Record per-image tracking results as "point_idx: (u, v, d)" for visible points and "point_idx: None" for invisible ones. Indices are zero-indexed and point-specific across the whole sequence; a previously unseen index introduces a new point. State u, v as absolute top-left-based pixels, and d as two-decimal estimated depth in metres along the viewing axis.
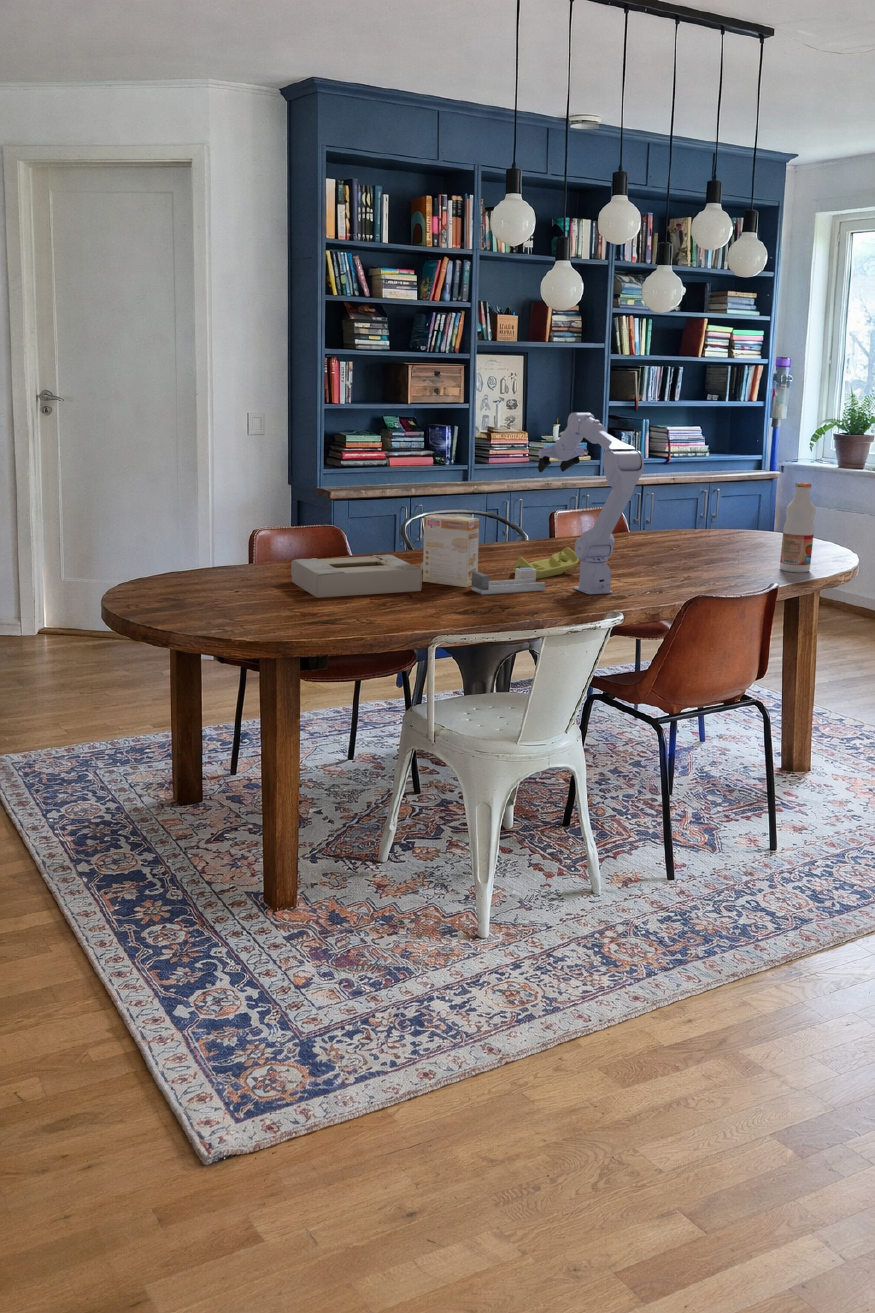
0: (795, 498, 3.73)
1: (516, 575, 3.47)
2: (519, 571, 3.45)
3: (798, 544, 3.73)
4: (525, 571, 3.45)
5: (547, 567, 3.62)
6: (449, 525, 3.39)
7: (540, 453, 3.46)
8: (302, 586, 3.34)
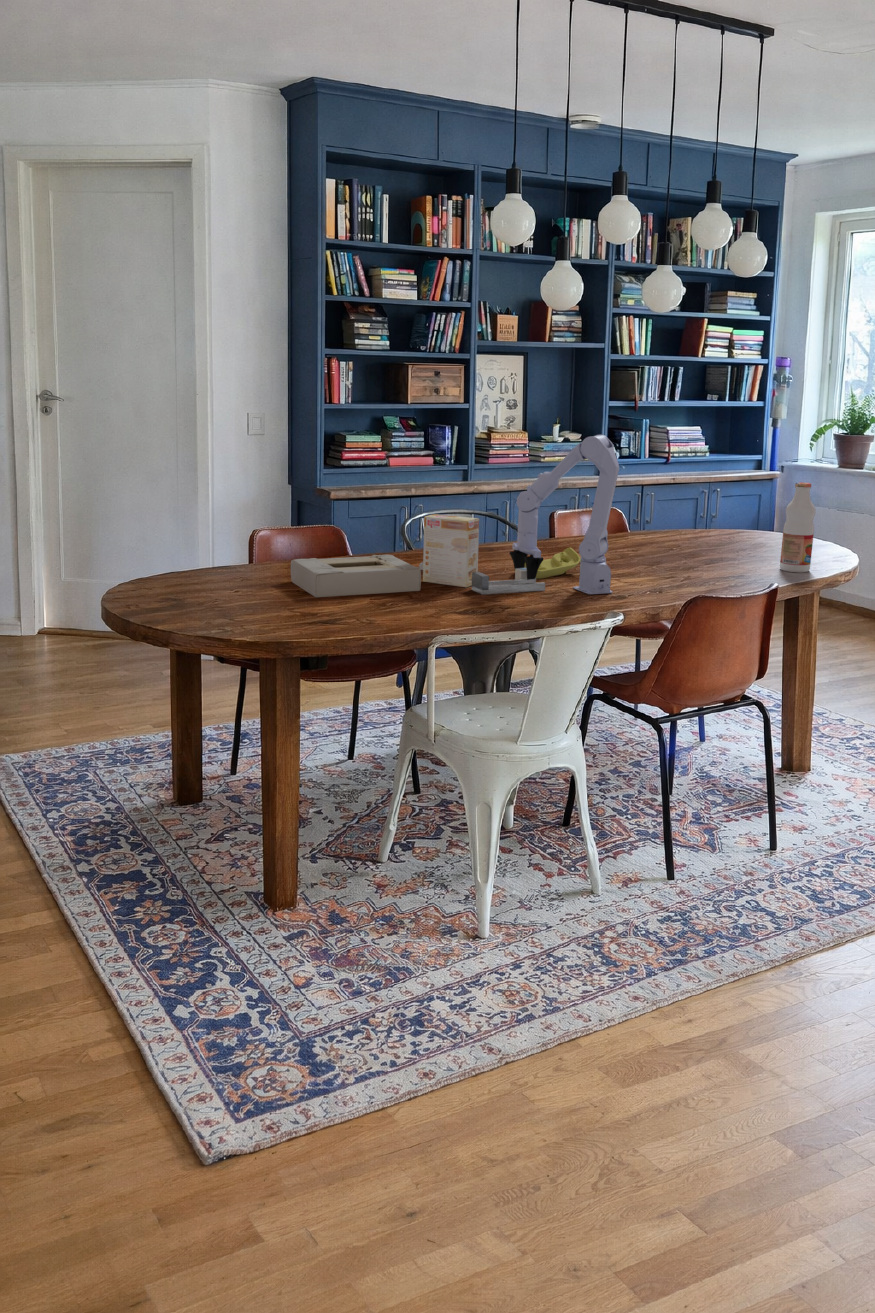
0: (795, 498, 3.73)
1: (516, 575, 3.47)
2: (519, 571, 3.45)
3: (798, 544, 3.73)
4: (525, 571, 3.45)
5: (548, 567, 3.62)
6: (449, 525, 3.39)
7: (538, 553, 3.39)
8: (301, 586, 3.34)
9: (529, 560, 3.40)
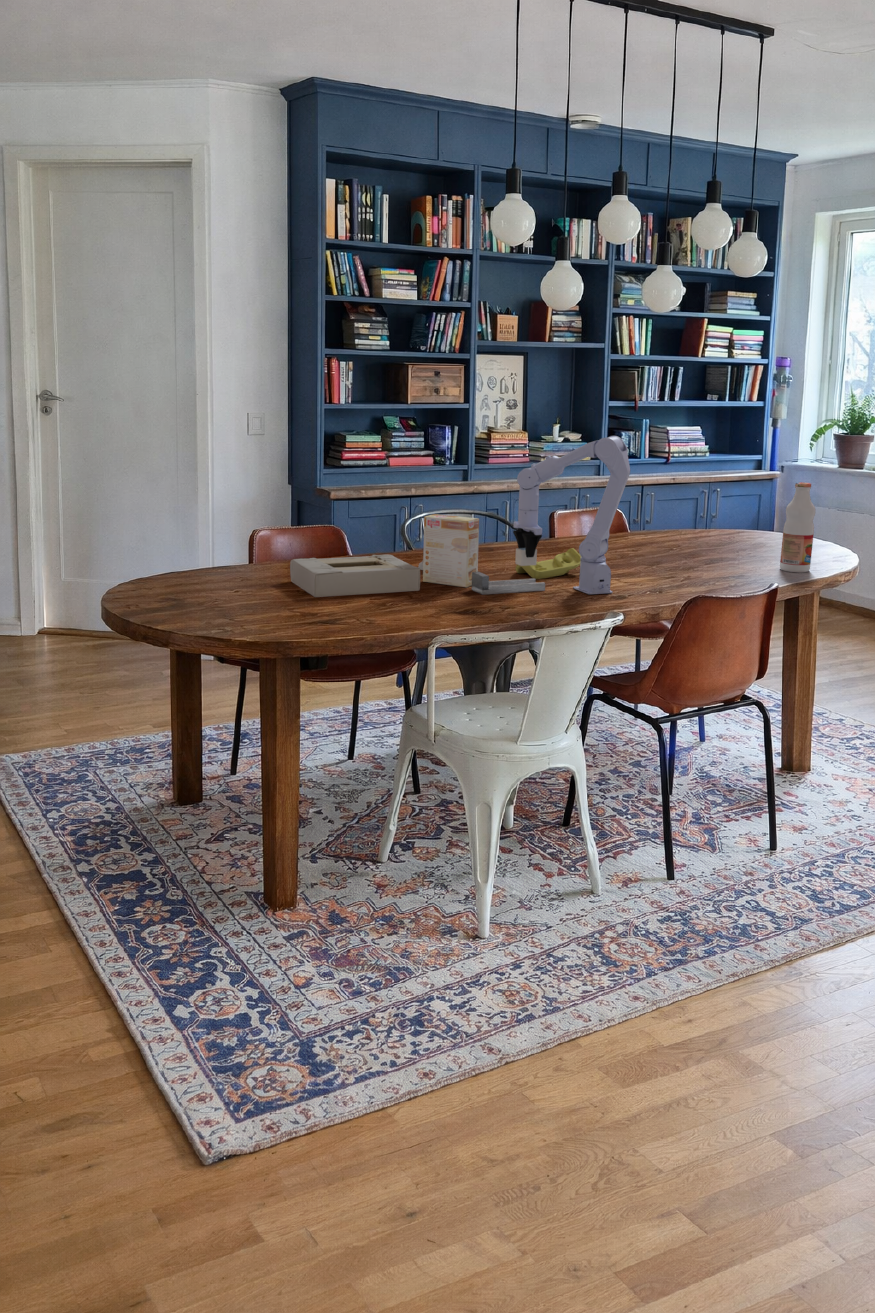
0: (795, 498, 3.73)
1: (517, 555, 3.45)
2: (520, 551, 3.43)
3: (798, 544, 3.73)
4: None
5: (549, 568, 3.61)
6: (449, 525, 3.39)
7: (539, 530, 3.37)
8: (301, 586, 3.34)
9: (528, 537, 3.39)
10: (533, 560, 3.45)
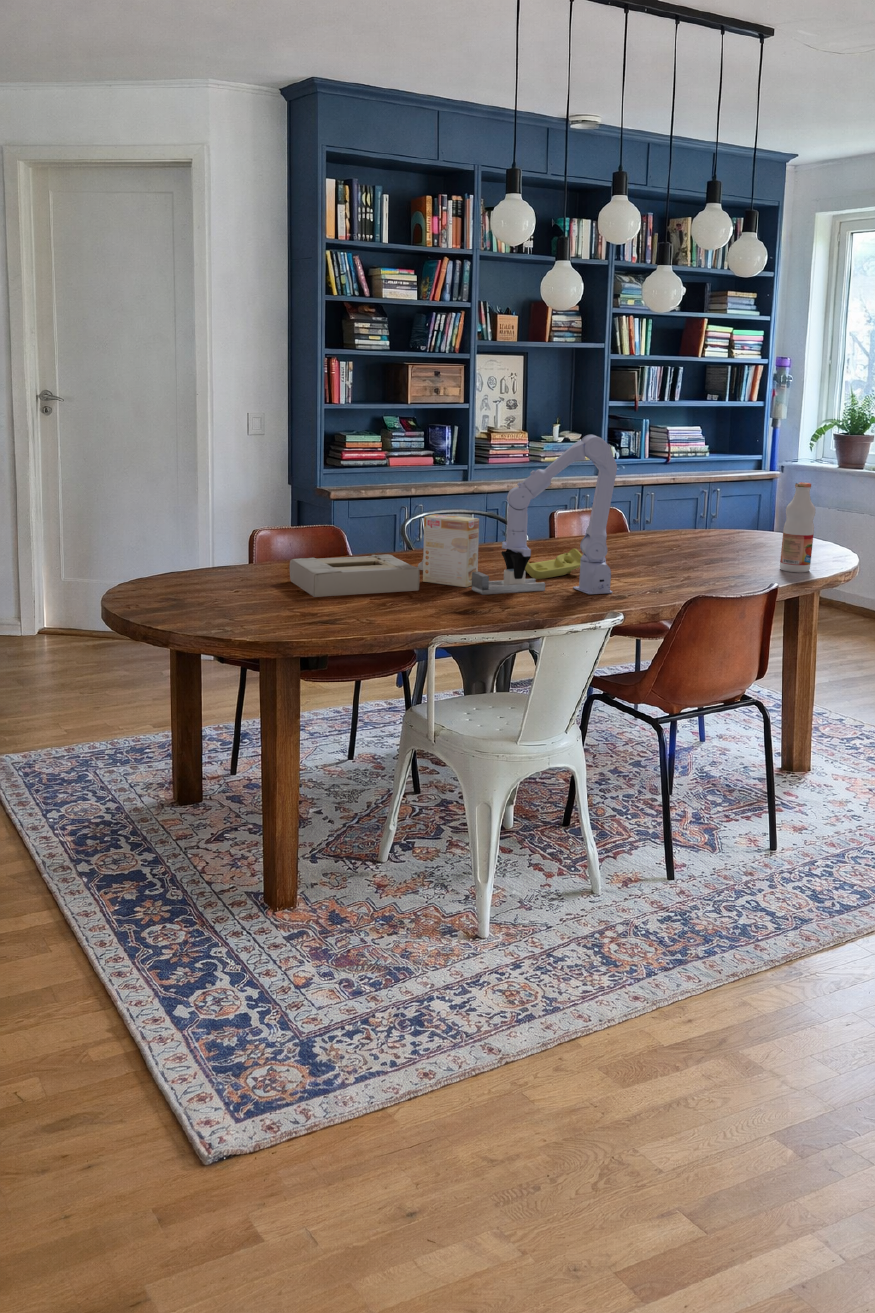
0: (795, 498, 3.73)
1: (505, 576, 3.38)
2: (508, 572, 3.36)
3: (798, 544, 3.73)
4: None
5: (550, 568, 3.61)
6: (449, 525, 3.39)
7: (528, 552, 3.29)
8: (300, 585, 3.35)
9: (516, 558, 3.32)
10: (522, 581, 3.37)
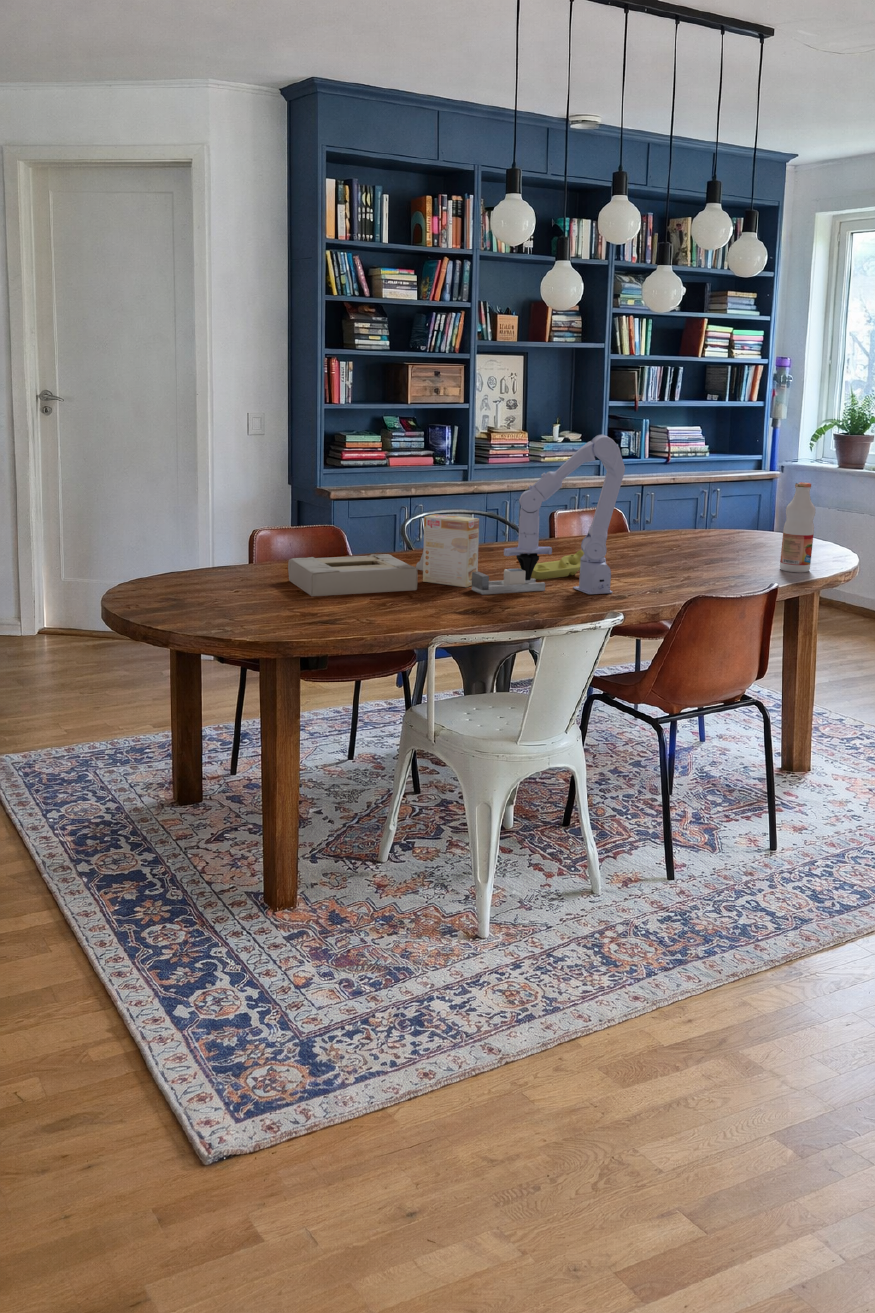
0: (795, 498, 3.73)
1: (505, 576, 3.38)
2: (508, 572, 3.36)
3: (798, 544, 3.73)
4: (514, 572, 3.35)
5: (553, 569, 3.60)
6: (449, 525, 3.39)
7: None
8: (298, 585, 3.35)
9: None
10: (522, 581, 3.37)
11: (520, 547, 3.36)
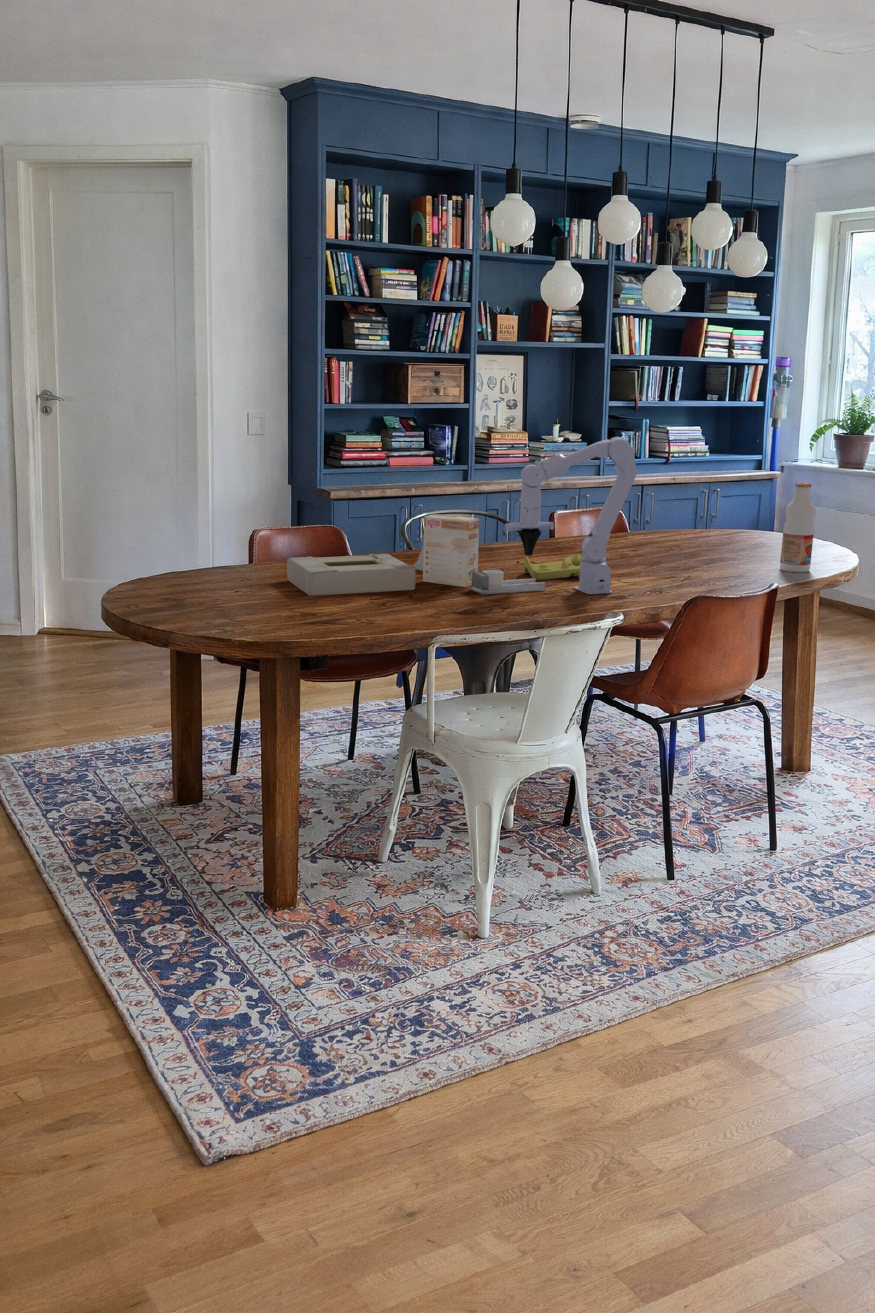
0: (795, 498, 3.73)
1: None
2: (486, 573, 3.33)
3: (798, 544, 3.73)
4: (492, 573, 3.33)
5: (555, 569, 3.59)
6: (449, 525, 3.39)
7: None
8: (296, 584, 3.36)
9: None
10: (500, 583, 3.34)
11: (522, 522, 3.34)
